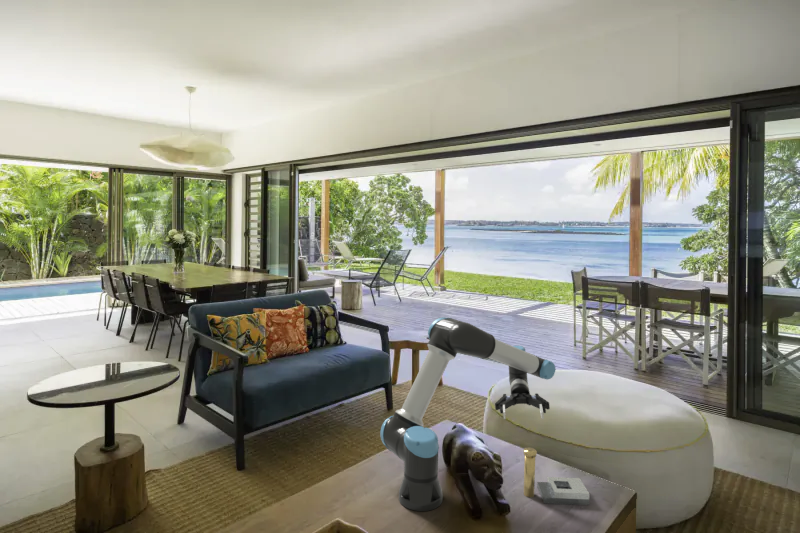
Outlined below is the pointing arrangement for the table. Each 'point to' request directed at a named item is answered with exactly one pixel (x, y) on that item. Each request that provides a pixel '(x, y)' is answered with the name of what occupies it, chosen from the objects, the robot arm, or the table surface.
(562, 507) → the table surface
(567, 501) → the square hole block
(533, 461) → the brass pin
